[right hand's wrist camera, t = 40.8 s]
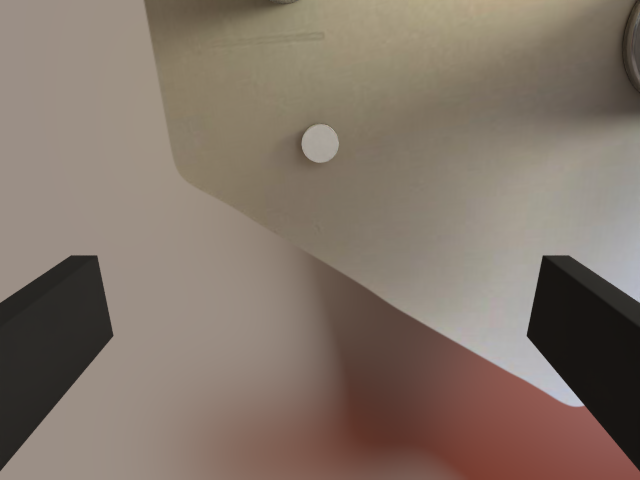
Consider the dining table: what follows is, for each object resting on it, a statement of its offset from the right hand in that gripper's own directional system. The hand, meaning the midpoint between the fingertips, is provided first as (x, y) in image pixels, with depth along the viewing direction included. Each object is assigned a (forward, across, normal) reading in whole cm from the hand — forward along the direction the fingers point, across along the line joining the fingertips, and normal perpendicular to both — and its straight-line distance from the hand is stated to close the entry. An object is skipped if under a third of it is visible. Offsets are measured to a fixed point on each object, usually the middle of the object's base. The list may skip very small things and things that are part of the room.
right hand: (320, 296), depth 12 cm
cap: (+37, 0, 0) cm, 37 cm away
